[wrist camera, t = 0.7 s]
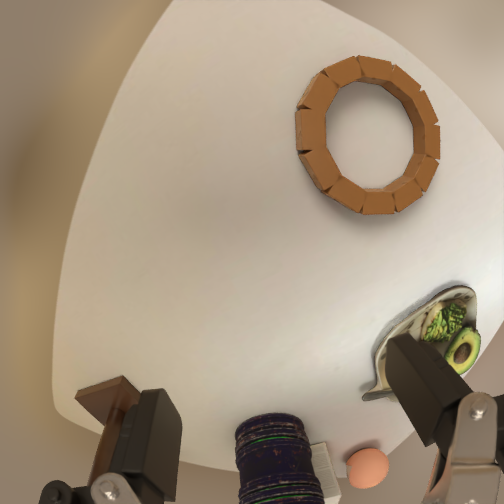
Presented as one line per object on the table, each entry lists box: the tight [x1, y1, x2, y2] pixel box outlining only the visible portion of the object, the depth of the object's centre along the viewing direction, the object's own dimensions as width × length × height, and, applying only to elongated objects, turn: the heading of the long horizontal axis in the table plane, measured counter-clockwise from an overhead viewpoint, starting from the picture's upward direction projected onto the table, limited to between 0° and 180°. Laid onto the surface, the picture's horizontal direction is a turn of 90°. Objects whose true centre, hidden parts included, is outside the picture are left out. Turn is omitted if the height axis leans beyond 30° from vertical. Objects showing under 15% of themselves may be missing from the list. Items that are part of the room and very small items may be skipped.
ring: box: [295, 55, 440, 215], centre depth 22 cm, size 14×14×2 cm
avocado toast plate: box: [362, 285, 481, 402], centre depth 30 cm, size 19×18×5 cm
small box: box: [310, 442, 342, 504], centre depth 34 cm, size 8×6×10 cm
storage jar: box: [235, 413, 325, 504], centre depth 28 cm, size 10×10×15 cm
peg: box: [75, 376, 141, 486], centre depth 24 cm, size 9×9×16 cm
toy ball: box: [346, 448, 389, 488], centre depth 36 cm, size 8×8×8 cm
